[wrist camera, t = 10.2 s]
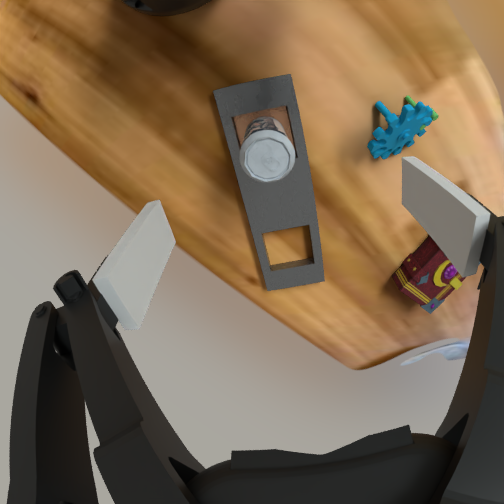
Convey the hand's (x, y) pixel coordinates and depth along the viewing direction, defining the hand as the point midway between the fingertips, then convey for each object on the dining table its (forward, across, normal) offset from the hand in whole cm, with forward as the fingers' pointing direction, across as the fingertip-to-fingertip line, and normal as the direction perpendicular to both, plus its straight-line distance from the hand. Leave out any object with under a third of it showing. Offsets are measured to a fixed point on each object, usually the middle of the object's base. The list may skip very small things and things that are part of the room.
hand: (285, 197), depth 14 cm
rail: (+22, -1, -9) cm, 24 cm away
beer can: (+22, -1, -1) cm, 22 cm away
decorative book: (+22, +25, -25) cm, 42 cm away
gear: (+22, +16, -2) cm, 27 cm away
